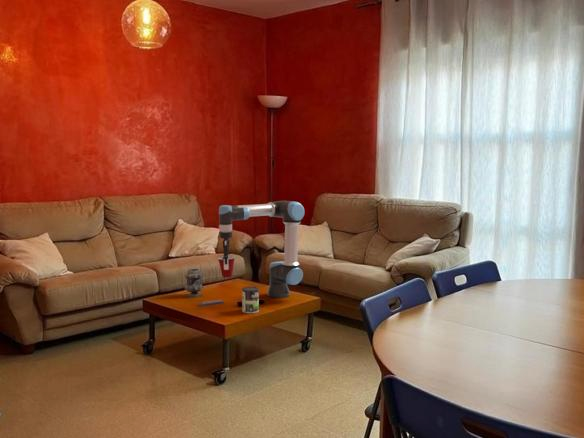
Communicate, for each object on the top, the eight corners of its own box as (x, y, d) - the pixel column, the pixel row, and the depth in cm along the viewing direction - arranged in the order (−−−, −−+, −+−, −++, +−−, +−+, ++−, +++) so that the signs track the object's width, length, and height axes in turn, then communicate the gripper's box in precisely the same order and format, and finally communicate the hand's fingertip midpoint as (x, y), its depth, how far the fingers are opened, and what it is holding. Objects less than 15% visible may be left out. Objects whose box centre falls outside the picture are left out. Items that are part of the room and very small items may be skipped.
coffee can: (262, 310, 337) (262, 288, 335) (251, 314, 329) (251, 291, 327) (249, 307, 343) (249, 285, 341) (238, 311, 335) (238, 288, 333)
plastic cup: (229, 273, 339) (228, 254, 338) (239, 276, 331) (239, 256, 329) (214, 276, 332) (213, 256, 331) (224, 279, 324) (223, 259, 322)
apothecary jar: (204, 293, 379) (203, 267, 377) (202, 297, 367) (201, 271, 365) (186, 293, 378) (186, 267, 376) (183, 298, 366) (183, 271, 364)
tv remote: (221, 302, 357) (221, 299, 357) (223, 304, 353) (223, 300, 353) (199, 305, 350) (198, 302, 350) (201, 307, 346) (201, 303, 346)
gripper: (220, 228, 339) (221, 263, 342) (218, 234, 316) (219, 271, 319) (232, 228, 340) (233, 263, 343) (231, 234, 317) (232, 271, 320)
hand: (226, 267), depth 331 cm, fingers closed on plastic cup, 11 cm apart
